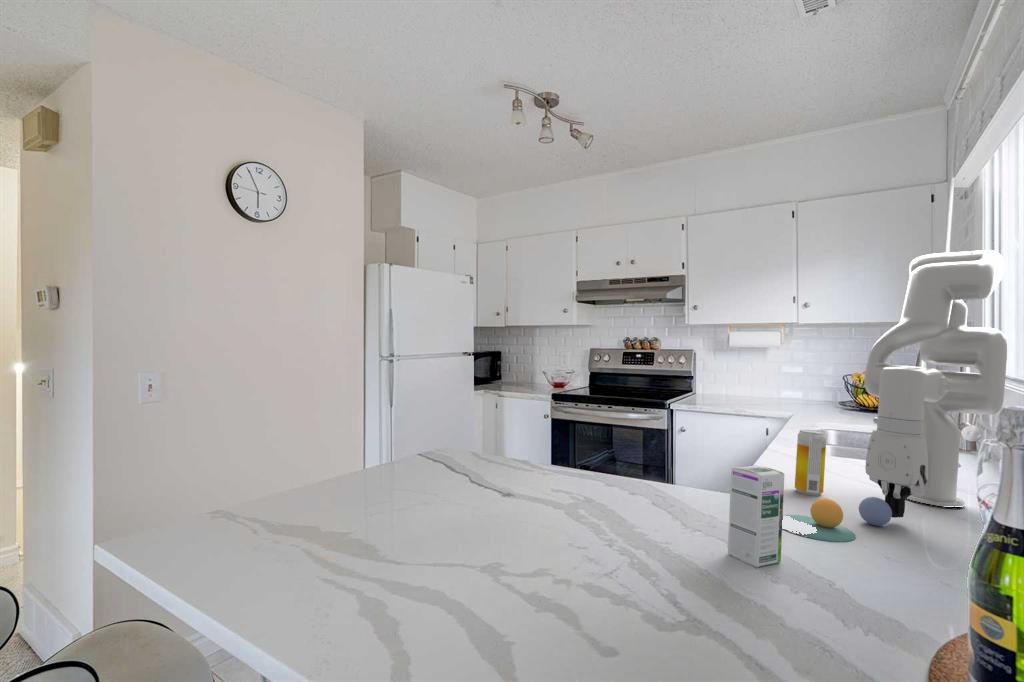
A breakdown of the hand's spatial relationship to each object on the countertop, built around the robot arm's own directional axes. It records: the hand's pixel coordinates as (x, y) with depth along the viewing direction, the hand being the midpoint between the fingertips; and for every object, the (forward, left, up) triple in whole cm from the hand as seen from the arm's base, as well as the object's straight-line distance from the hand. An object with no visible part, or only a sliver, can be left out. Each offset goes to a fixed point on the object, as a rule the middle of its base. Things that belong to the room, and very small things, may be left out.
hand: (894, 515), depth 108 cm
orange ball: (+13, -13, +1) cm, 18 cm away
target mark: (+15, -15, -2) cm, 21 cm away
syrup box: (+39, -24, -2) cm, 46 cm away
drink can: (-15, -15, -2) cm, 21 cm away
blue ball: (+4, -4, +1) cm, 6 cm away
